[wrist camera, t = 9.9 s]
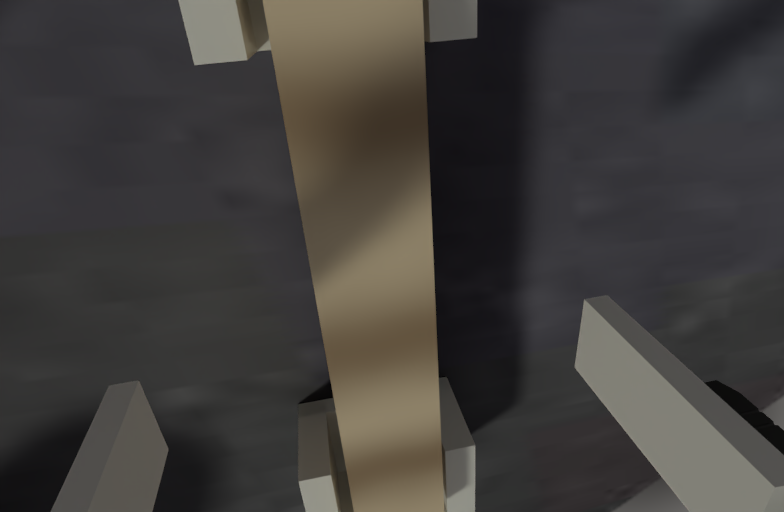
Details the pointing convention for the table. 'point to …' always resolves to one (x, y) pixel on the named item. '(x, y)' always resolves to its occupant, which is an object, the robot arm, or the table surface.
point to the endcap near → (250, 33)
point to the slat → (368, 232)
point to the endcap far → (328, 470)
